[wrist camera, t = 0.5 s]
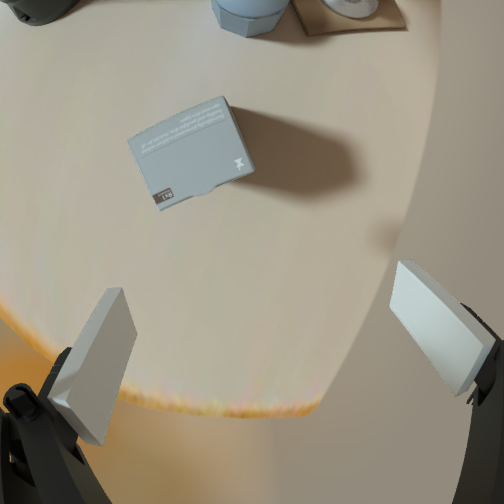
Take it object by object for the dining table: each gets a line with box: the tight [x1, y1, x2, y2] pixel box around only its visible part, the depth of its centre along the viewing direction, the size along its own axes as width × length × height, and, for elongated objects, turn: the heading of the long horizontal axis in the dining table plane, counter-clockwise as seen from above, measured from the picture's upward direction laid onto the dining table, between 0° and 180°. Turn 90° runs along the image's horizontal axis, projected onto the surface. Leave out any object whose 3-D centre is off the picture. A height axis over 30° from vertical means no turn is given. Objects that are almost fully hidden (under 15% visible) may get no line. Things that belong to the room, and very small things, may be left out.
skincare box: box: [127, 96, 256, 211], centre depth 26 cm, size 8×7×16 cm
